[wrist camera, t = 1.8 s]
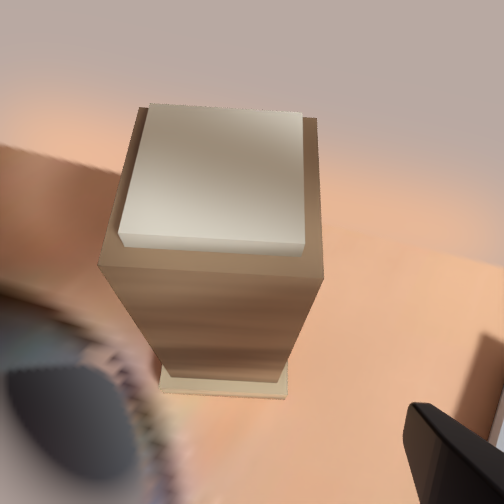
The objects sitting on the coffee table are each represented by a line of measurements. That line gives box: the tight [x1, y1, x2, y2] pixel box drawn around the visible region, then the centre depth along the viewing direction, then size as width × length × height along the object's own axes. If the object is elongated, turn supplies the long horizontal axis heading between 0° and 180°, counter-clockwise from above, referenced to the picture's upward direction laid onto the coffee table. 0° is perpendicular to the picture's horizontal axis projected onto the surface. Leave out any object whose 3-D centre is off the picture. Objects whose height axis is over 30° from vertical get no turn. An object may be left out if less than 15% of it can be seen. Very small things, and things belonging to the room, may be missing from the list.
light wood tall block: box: [97, 103, 324, 400], centre depth 15 cm, size 6×6×14 cm
